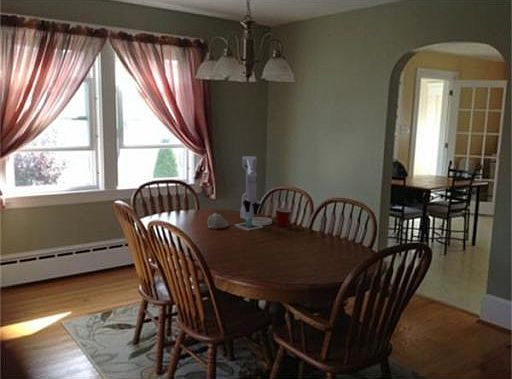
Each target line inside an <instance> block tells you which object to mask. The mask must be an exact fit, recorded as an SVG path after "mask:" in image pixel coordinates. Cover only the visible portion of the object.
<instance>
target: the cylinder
mask: <svg viewBox="0 0 512 379" xmlns="http://www.w3.org/2000/svg"><path fill="white" fill-rule="evenodd" d="M245 223H246V224H245V227H246V228H253V225H252V218H251V217H247V218H246V219H245Z"/></svg>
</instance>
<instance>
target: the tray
mask: <svg viewBox="0 0 512 379" xmlns="http://www.w3.org/2000/svg"><path fill="white" fill-rule="evenodd" d="M244 225H245V226H244ZM252 226H254V227H251V228H248V227H246V222H242V223H236V224H235V223H234V228H236V229H240V230H242V231H246V232H250V231H252V230H253V231H254V230H258V229H262V228H264V225H258V224H254V223H252Z"/></svg>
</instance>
